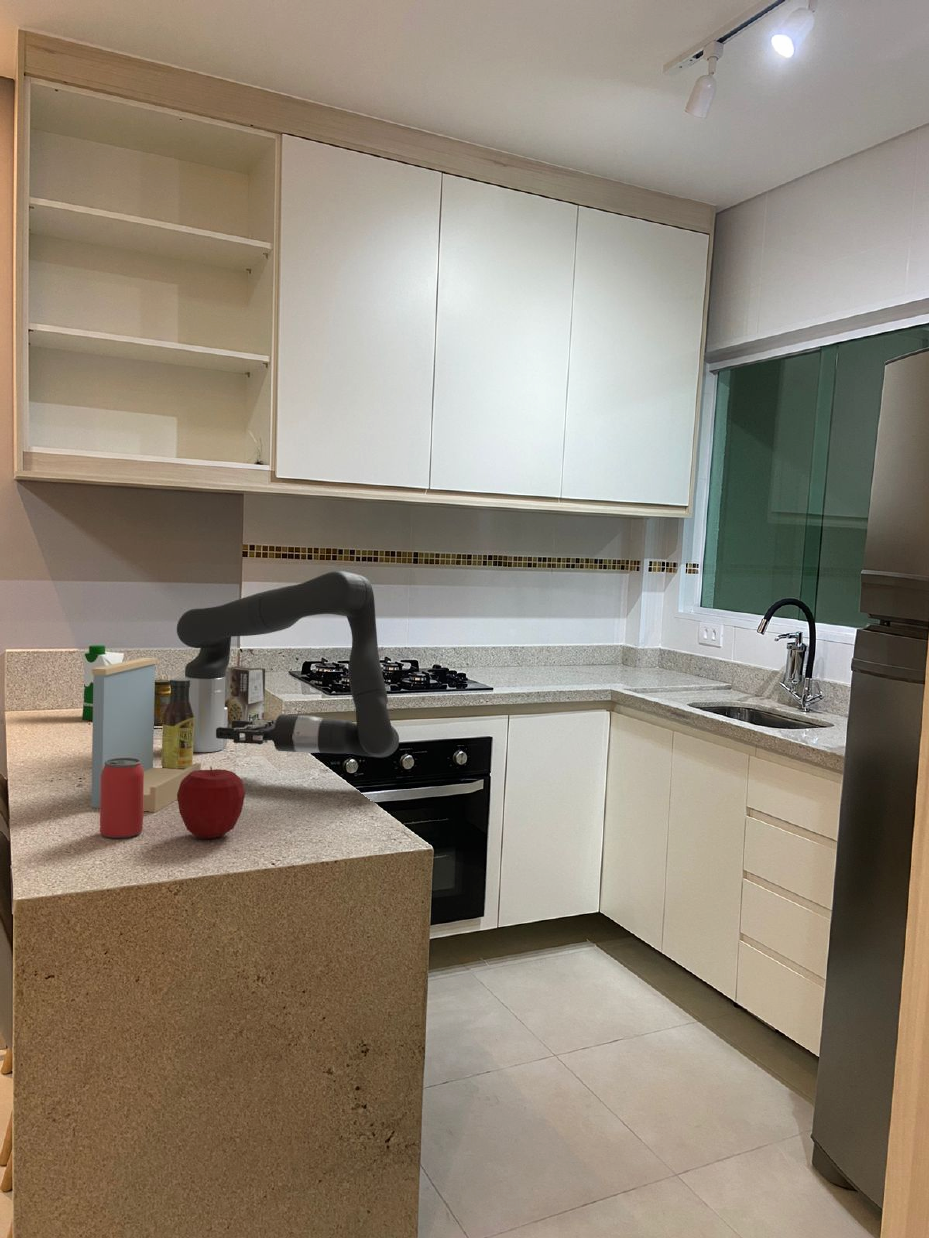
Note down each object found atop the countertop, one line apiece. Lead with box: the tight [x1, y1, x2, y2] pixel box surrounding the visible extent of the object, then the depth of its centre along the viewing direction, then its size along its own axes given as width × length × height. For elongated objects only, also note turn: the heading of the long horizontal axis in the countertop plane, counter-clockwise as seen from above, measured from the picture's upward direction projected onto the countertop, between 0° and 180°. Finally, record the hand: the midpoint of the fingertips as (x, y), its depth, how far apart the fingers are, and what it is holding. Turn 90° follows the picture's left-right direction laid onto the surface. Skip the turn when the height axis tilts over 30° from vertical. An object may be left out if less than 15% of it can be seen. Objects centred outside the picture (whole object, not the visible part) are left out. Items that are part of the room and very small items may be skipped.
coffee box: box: [225, 665, 266, 728], centre depth 246 cm, size 9×6×16 cm
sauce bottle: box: [160, 678, 194, 770], centre depth 192 cm, size 6×6×20 cm
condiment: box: [154, 679, 171, 726], centre depth 243 cm, size 7×8×12 cm
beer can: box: [99, 758, 144, 839], centre depth 150 cm, size 7×7×12 cm
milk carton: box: [81, 644, 125, 722], centre depth 249 cm, size 9×9×20 cm
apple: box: [177, 766, 246, 839], centre depth 151 cm, size 11×11×12 cm
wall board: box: [90, 657, 202, 813], centre depth 173 cm, size 20×12×25 cm, turn 173°
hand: (224, 729), depth 190 cm, fingers open, 8 cm apart
